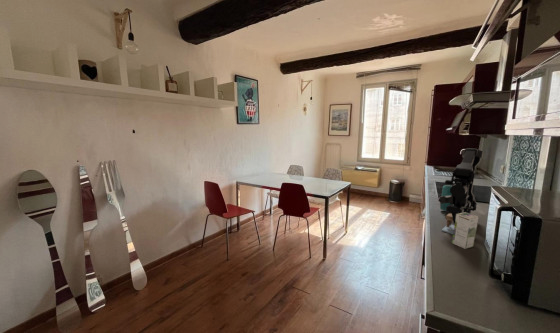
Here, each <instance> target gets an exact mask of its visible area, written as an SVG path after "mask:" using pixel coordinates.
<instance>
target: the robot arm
mask: <svg viewBox="0 0 560 333" xmlns="http://www.w3.org/2000/svg"><path fill="white" fill-rule="evenodd" d="M461 156H462V161H461V162H460V164H457V165H456V167H455V168H454V169H453V172H452V175H451V179H450V180H451V181H453V185H451V186H452V187H451V188H450V193H451V194H452V195H449V196H442V195H441V196H439V197H438V202H439V203H440V204H443V203H450V204H452V205H449V206H448V207H446V212H447V213H450V214H452V217H453V221H452V223H453V225H455V219H456V214H458V213H463V212H466V213H470V214H472V212H474V211H477V204H478V203H477V201H476V199H475V197H476V196H475V195H474V193H473V187H474V183H475V182H474V181H475V177H476V169H477V166H478V165H479V164H480V163H481V160H482V159H483V158H484V151H483V150H479V149H478V148H472V147H471V148H470V147H467V148H465V149H463V150H462V154H461Z"/></svg>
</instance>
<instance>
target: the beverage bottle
mask: <svg viewBox="0 0 560 333" xmlns="http://www.w3.org/2000/svg"><path fill="white" fill-rule="evenodd" d="M453 185H454V182H453V181H451V179H445V182H444V185H443V186H442V189H441V196H449V195H452V194H451V193H450V188H451V187H452V186H453ZM449 205H452V204H450V203H443V204H440V205H439V208H440V210H442V211H446V207H448V206H449ZM446 212H447V211H446Z"/></svg>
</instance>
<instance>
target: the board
mask: <svg viewBox="0 0 560 333" xmlns="http://www.w3.org/2000/svg"><path fill="white" fill-rule="evenodd" d="M446 226H447V224H446V225H445V226H444V227H443V228H442V229H441V232H444V233H447V234H451V235H453V232H454V226H455V224H451V226H449V227H446Z"/></svg>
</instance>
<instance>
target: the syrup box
mask: <svg viewBox="0 0 560 333" xmlns="http://www.w3.org/2000/svg"><path fill="white" fill-rule="evenodd" d="M478 222H479V216H478V215H475V214H472V213H471V214H470V213H466V212H463V213H458V214H456V219H455V224H454V225H455V226H454V232H453V234H452V239H451V244H453V245H455V246H458V247H460V248H462V249H464V250H467V249H470V248H473V247H474V246H475V239H476V233H477V229H478Z"/></svg>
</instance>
